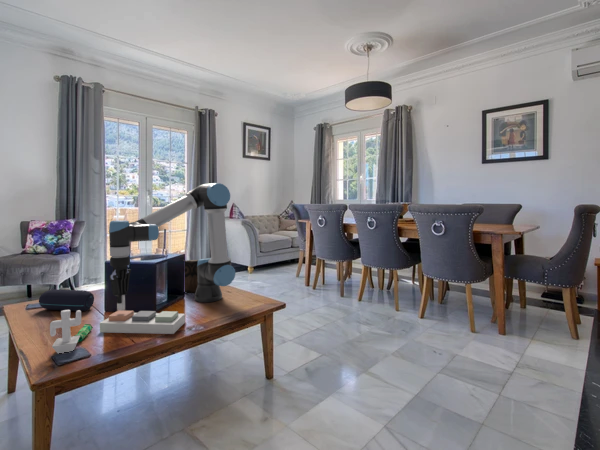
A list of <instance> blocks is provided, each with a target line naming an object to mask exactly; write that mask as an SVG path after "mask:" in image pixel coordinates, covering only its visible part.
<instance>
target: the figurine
mask: <svg viewBox="0 0 600 450" xmlns="http://www.w3.org/2000/svg"><path fill="white" fill-rule="evenodd" d="M81 324H82V311H80V310H78V311H75V318H74V317H73V318H71V311H70V310H60V319H59V320H52V321H51V322H50V324H49V335H50V336H51V337H55V336H56V334H57V329H61V333H62V334H61V337H59V338H56V339H55V341H54V342H53V344H52V346H51V347H52V349H54V351H55V352H56V354H58V355H60V354H59V353H62V354H65V353H64V352H69V351H73V350H74V351H75V349H76V346H77V343H79V342H78V340H79V337H80V335H79V336H74V335H73V336H72V333H71V328H72V327H76V326H80V325H81ZM74 351H73V352H74ZM69 353H70V352H69Z"/></svg>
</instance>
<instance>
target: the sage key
mask: <svg viewBox="0 0 600 450" xmlns="http://www.w3.org/2000/svg"><path fill="white" fill-rule="evenodd" d="M159 313H160V314H158V315H157V316H156V317H155V322H173V321H174V320H175V319H176V318H177V317H178V314H179V311H175V310H174V311H168V310H165V311H164V310H162V311H161V312H159Z"/></svg>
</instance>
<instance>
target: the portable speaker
mask: <svg viewBox="0 0 600 450" xmlns="http://www.w3.org/2000/svg"><path fill="white" fill-rule="evenodd" d="M94 301H95V296H94V294H93V293H92V292H91V291H89V290H81V289H77V290H76V289H61V288H60V289H50V290H46V291H44V292H43V293H42V294H41V295H40V296H39V299H38V304H39V306H40V307H41V308H43V309H45V310H49V311H50V310H51V311H52V310H53V311H63V310H70V312H71V311H73V312H76V311H78V310H80V311H81V312H85V311H89V310H90V309H91V308H92V307H93V305H94V303H95V302H94Z"/></svg>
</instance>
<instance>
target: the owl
mask: <svg viewBox="0 0 600 450" xmlns="http://www.w3.org/2000/svg"><path fill="white" fill-rule="evenodd" d="M198 260H199V259H189V260H188V259H187V260H184V261H185V292H186V293H185V294H195V293H196V289H197V286H198V273H197V264H198Z"/></svg>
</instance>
